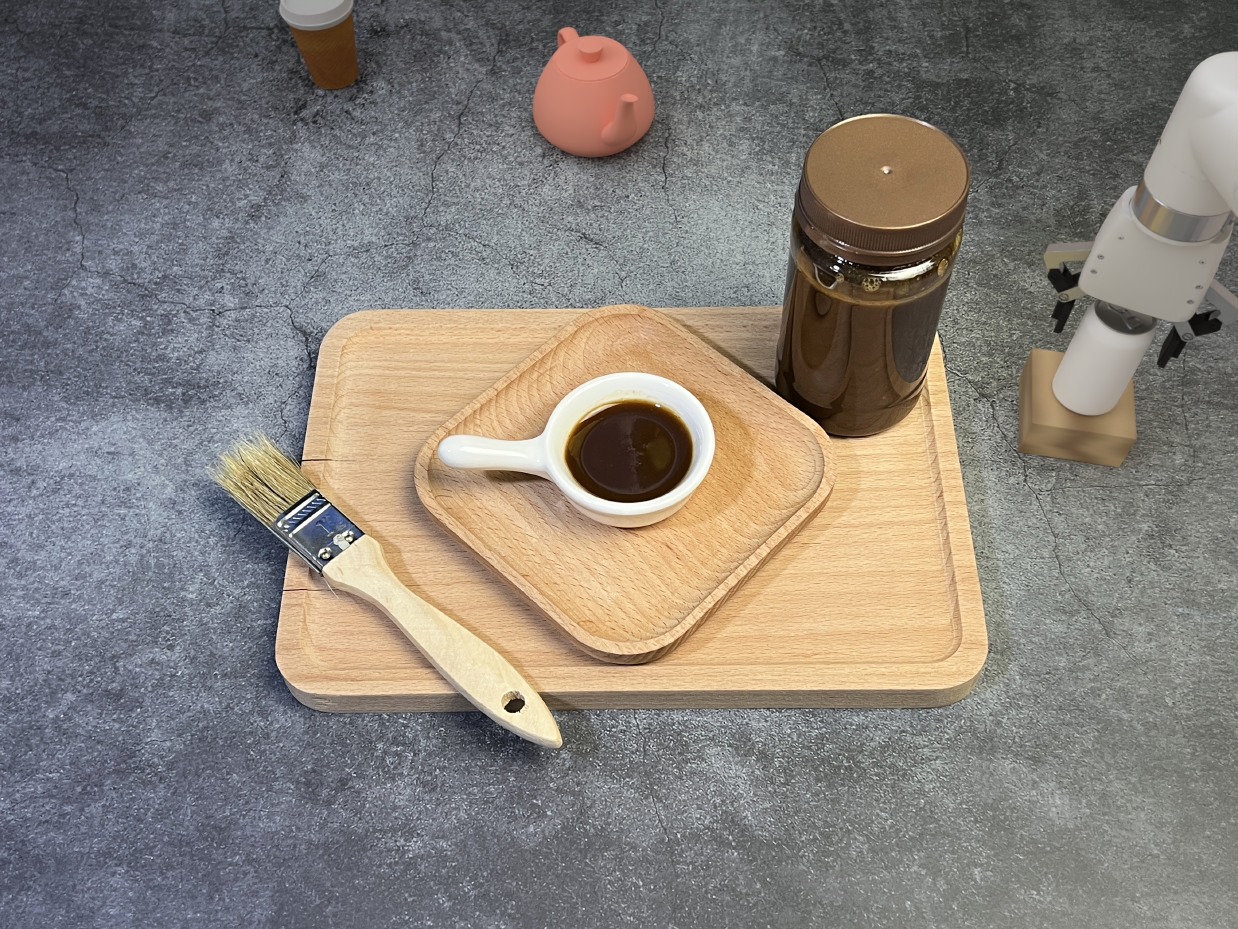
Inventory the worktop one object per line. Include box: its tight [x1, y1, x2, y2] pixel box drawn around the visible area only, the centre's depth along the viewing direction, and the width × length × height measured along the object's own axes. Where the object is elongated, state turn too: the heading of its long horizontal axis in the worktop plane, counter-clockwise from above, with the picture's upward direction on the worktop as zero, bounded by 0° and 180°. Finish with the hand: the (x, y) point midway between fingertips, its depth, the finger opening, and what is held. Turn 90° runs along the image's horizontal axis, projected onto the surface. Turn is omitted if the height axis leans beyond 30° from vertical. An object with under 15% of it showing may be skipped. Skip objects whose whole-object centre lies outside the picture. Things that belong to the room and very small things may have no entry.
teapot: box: [532, 26, 656, 158], centre depth 138 cm, size 22×16×12 cm
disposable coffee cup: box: [278, 0, 360, 90], centre depth 146 cm, size 10×10×12 cm
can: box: [1052, 298, 1159, 416], centre depth 106 cm, size 6×6×12 cm
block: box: [1017, 347, 1138, 468], centre depth 113 cm, size 10×10×5 cm
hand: (1110, 340), depth 104 cm, fingers open, 9 cm apart
